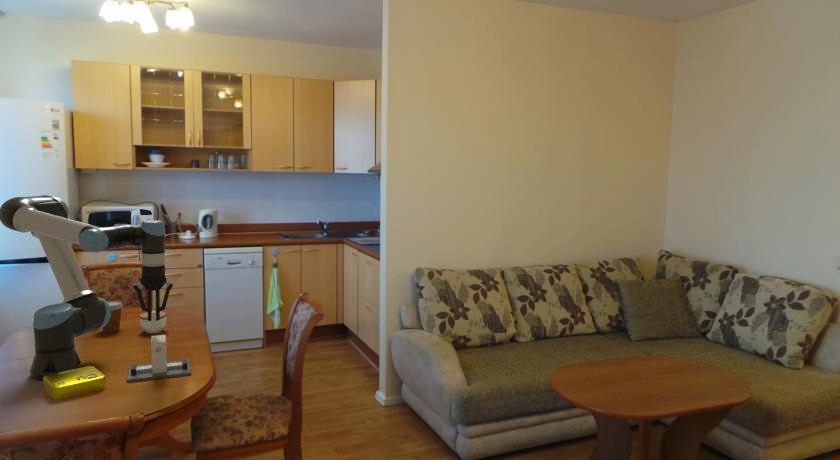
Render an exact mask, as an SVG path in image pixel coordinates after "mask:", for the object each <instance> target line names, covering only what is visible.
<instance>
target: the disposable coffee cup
mask: <svg viewBox="0 0 840 460" xmlns="http://www.w3.org/2000/svg"><path fill="white" fill-rule="evenodd" d="M107 302H108V304H109V306H110V309H111V316H110V319H109V322H108V323H107V325H106V326H104V327H103V328H102V332H104V333H114V332H118V331H120V326H121V316H122V308H123V304H122V302H121V301H118V300H117V301H116V300H115V301H107Z"/></svg>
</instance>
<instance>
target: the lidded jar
mask: <svg viewBox="0 0 840 460" xmlns="http://www.w3.org/2000/svg"><path fill="white" fill-rule="evenodd" d="M152 311H155V310H154V309H152ZM167 317H168V315H167V312H165V311H160V320H159V321H156V330H155V331H151V321H148V312H146V311H145V312H143V313H141V314H139V323H140V326H141V329H142V330H143V331H144V332H145V333H146V334H149V335H150V334H158V333H159V334H160V333H161V332H162V331H163V330H164V328H165V327H166V325H167Z"/></svg>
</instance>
